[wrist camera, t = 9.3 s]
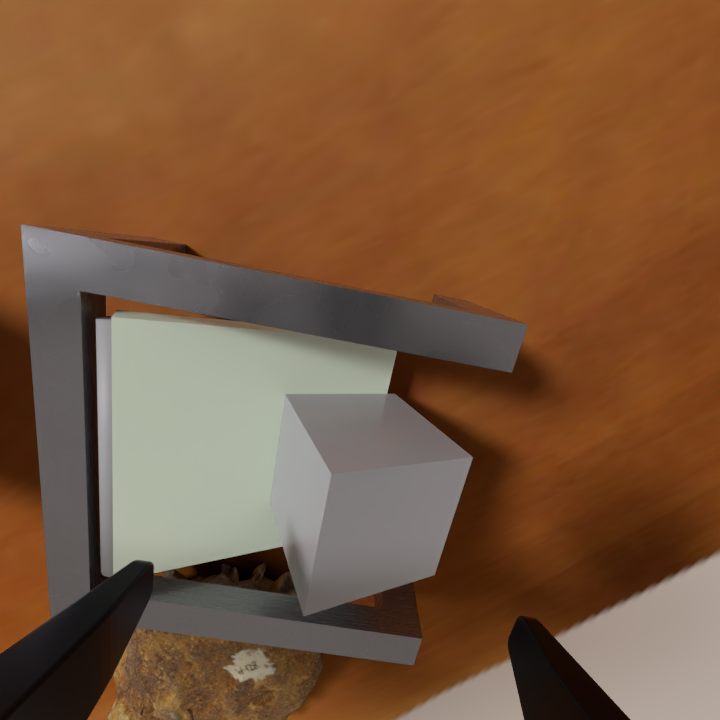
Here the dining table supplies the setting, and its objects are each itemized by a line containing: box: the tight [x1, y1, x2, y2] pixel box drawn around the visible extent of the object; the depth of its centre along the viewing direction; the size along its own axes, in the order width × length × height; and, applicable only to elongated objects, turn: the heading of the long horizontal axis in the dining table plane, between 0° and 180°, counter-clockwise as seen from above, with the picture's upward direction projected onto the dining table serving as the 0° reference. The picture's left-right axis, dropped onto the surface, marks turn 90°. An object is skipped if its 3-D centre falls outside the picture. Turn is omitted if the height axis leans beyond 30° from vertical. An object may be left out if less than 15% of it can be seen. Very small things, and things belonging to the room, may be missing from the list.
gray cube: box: [270, 394, 473, 616], centre depth 13 cm, size 5×5×5 cm
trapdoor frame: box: [21, 224, 528, 665], centre depth 14 cm, size 14×14×6 cm
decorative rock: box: [107, 563, 323, 720], centre depth 20 cm, size 11×4×15 cm
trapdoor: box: [96, 310, 397, 577], centre depth 14 cm, size 10×10×1 cm
